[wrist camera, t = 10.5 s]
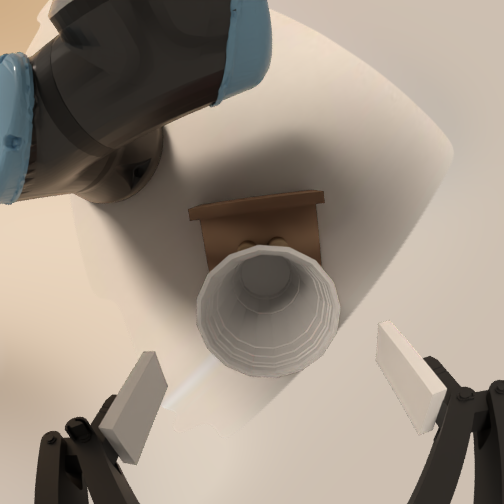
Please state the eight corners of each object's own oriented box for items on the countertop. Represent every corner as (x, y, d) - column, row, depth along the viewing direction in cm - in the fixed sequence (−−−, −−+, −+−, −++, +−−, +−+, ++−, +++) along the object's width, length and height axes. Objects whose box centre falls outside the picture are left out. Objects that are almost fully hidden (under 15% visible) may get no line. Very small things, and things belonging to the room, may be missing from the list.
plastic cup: (283, 204, 30) (299, 216, 18) (328, 286, 32) (362, 338, 21) (197, 254, 32) (165, 294, 20) (247, 329, 34) (243, 396, 22)
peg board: (199, 205, 35) (188, 209, 29) (312, 189, 34) (323, 191, 28) (220, 321, 39) (214, 345, 33) (322, 309, 38) (332, 330, 32)
